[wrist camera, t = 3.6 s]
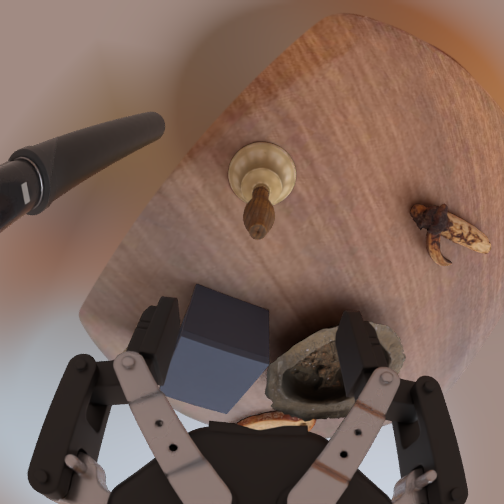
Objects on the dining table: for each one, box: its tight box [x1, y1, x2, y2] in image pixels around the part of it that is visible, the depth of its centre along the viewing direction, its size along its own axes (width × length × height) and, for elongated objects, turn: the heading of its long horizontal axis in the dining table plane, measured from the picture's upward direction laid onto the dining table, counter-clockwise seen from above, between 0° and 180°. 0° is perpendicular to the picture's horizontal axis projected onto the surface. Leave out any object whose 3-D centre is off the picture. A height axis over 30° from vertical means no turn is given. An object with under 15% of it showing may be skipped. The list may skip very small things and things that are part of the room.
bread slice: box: [237, 411, 316, 431], centre depth 64 cm, size 18×18×4 cm
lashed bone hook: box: [410, 204, 491, 266], centre depth 36 cm, size 9×5×18 cm
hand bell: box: [228, 142, 296, 240], centre depth 29 cm, size 8×8×16 cm
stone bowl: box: [265, 322, 406, 422], centre depth 47 cm, size 25×25×9 cm
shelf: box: [159, 284, 269, 414], centre depth 44 cm, size 12×16×11 cm
